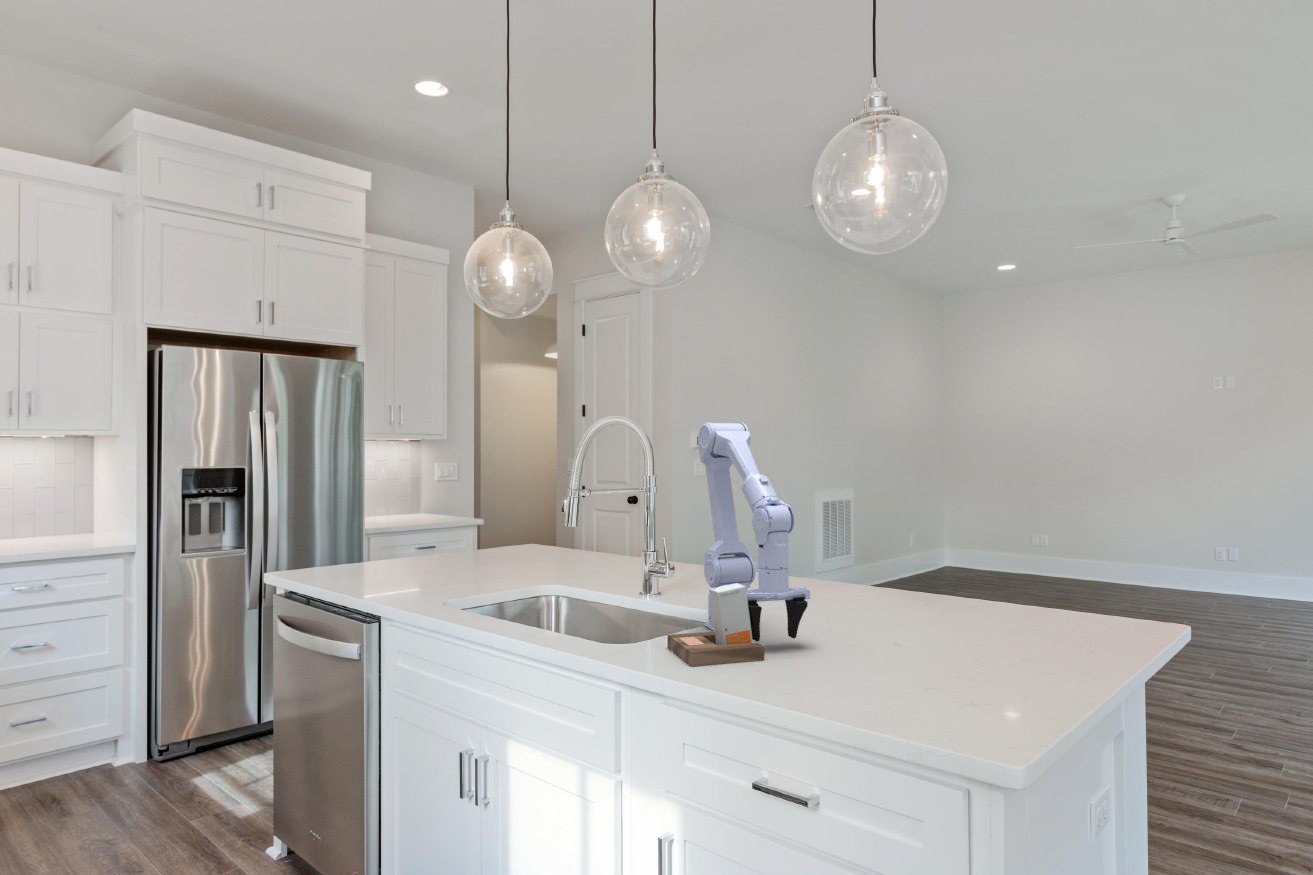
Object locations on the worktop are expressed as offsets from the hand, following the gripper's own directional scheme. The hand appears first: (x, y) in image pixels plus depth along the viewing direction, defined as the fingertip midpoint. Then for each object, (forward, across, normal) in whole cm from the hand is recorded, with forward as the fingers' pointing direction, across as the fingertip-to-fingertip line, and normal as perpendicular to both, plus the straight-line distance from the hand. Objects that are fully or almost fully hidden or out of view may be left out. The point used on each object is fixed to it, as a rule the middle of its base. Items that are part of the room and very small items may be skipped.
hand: (774, 638), depth 150 cm
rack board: (+2, -12, 0) cm, 12 cm away
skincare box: (+2, -8, 0) cm, 8 cm away
